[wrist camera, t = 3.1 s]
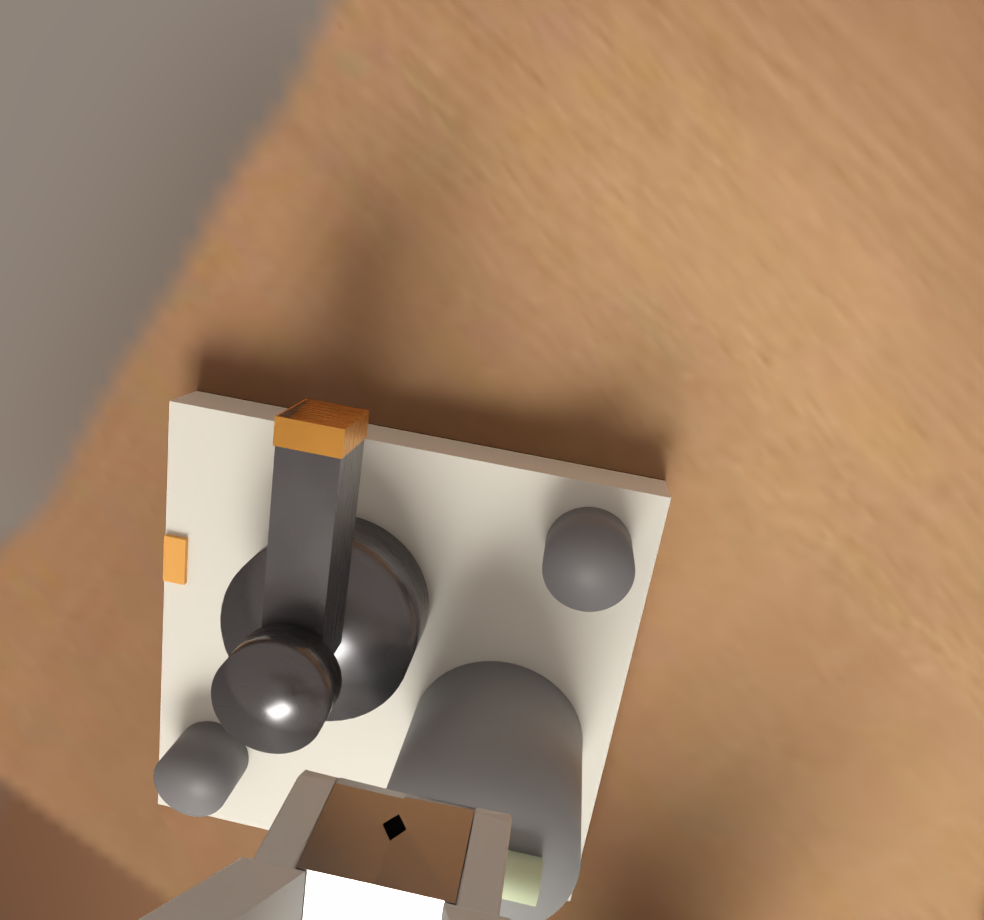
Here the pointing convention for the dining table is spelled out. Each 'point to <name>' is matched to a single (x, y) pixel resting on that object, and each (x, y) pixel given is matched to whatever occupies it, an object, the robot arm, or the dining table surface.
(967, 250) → the dining table surface
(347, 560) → the knob
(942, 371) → the dining table surface
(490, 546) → the base
